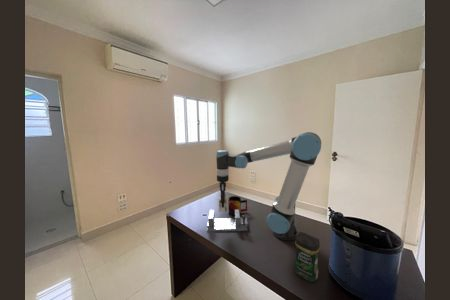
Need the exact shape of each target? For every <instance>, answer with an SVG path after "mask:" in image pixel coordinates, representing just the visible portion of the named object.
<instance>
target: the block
mask: <svg viewBox="0 0 450 300" xmlns="http://www.w3.org/2000/svg"><path fill="white" fill-rule="evenodd" d="M220 201H221V194H219V196H218V212H219V213H220V212H221V202H220ZM227 212H228V195H227V194H226V195H225V212H224V213H227Z"/></svg>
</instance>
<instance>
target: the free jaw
mask: <svg viewBox="0 0 450 300" xmlns="http://www.w3.org/2000/svg"><path fill="white" fill-rule="evenodd" d="M234 218H235V227H236V228H240V227H247V228H248V224H249V223H248V218H247V216H246V215H242V216H241V215H240V214H239V209H235V217H234Z"/></svg>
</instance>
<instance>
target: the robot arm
mask: <svg viewBox="0 0 450 300" xmlns="http://www.w3.org/2000/svg"><path fill="white" fill-rule="evenodd" d="M321 149H322V139H321V137H320V136H319V135H318V134H316V133H315V132H311V131H310V132H309V131H307V132H304V133H301V134H299V135H297V136H294V137H291V139H290V140H286V141H282V142H278V143H274V144H271V145H266V146H263V147H262V146H261V147H259V148H255V149H251V150H246V151H243V152H241V153H238V154H231V153H229V150H226V149H225V150H224V149H223V150H222V149H219V150H217V152H216V157H215V159H216V169H215V171H216V181H217V182H218V183H219V191H220V195H221V201H220V202H221V212H223V213H226V212H225V195H227V194H226V186H227V183H228V182H229V179H230V177H229V171H230V170H229V168H236V169H246V167H247V166H248V164H250V163H254V162H258V161H264V160H268V159H272V158H278V157H281V156H285V155H289V156H288V157H289V159H290V163H289V166H288V169H287V172H286V175H285V178H284V180H283V183H282V186H281V189H280V192H279V195H277V196H276V197H275V199H274V201H273V203H272V206H271V209H270V211H269V214H268V215H267V216H266V224H267V226H268V228H269V229H270V230H271V232H272V235H273V236H274V237H276V238H277V239H280V240H283V241H293V240H296V236H297V234H298V233H299V232H298V227H297V224H296V202H297V200H298V198H299V194H300V193H301V190H302V187H303V184H304V182H305V178H307V177H306V176H307V175H308V174H307V173H308V172H309V169H310V167H312V166H314V165H315V163H316V161H317V158H318V155H319V154H320V152H321Z"/></svg>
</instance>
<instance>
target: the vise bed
mask: <svg viewBox="0 0 450 300" xmlns="http://www.w3.org/2000/svg"><path fill="white" fill-rule="evenodd" d="M247 231H248V227H240V228H236V227H235V217H229V218H227V217H225V218H223V217H221V218H219V217H217V218H216V217H215V210H214V209H210V210H209V213H208V218H207V224H206V232H247Z"/></svg>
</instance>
